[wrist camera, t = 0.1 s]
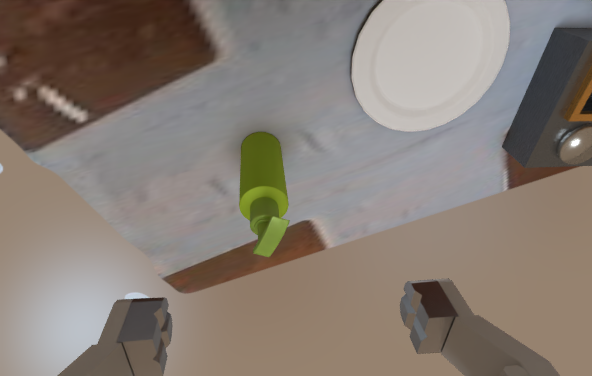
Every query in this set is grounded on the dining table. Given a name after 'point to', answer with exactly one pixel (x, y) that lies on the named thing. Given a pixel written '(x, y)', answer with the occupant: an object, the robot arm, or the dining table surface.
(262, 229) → the soap dispenser
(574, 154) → the grey box with knob
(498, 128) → the dining table surface
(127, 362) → the robot arm
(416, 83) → the plate
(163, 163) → the dining table surface
